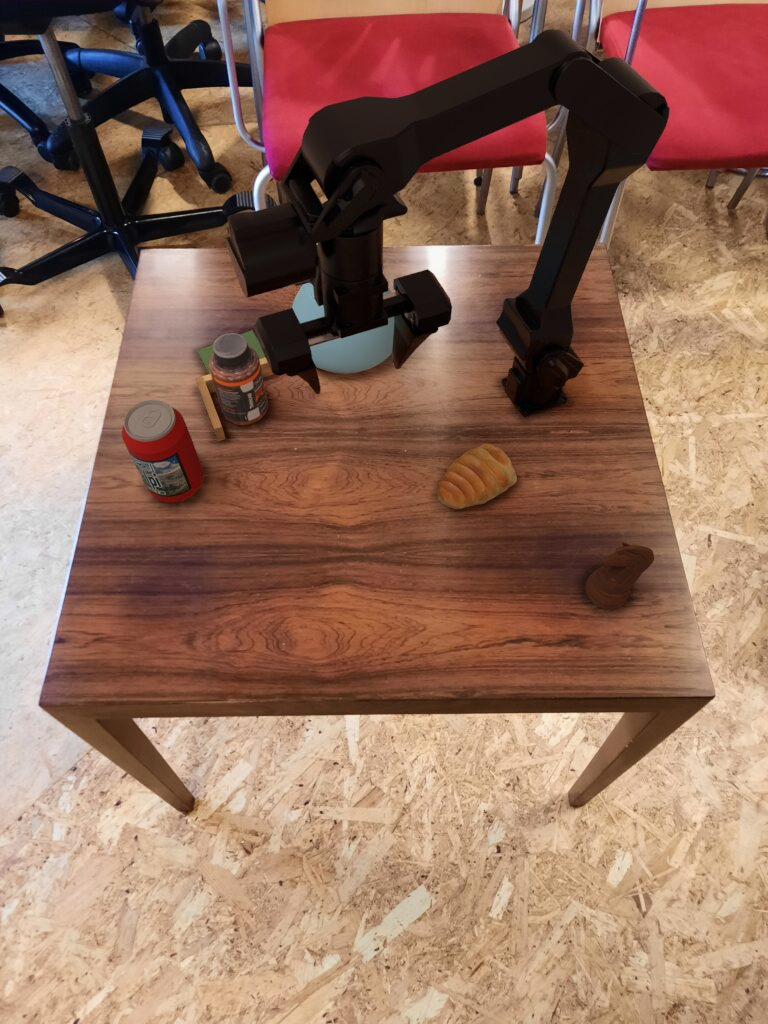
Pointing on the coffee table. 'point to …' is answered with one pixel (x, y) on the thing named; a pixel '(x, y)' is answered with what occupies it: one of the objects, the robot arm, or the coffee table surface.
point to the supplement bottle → (238, 380)
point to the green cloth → (251, 340)
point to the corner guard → (208, 387)
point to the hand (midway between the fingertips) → (357, 378)
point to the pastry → (476, 477)
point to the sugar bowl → (344, 340)
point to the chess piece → (618, 575)
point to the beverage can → (162, 450)
